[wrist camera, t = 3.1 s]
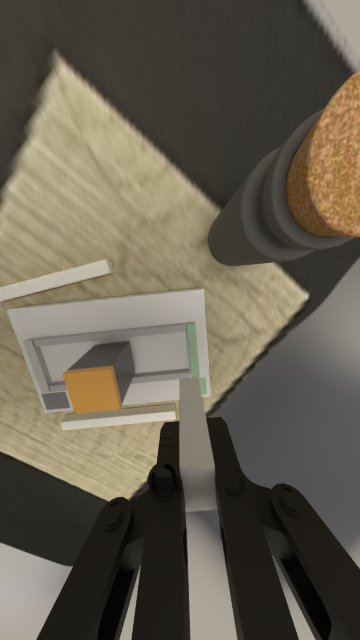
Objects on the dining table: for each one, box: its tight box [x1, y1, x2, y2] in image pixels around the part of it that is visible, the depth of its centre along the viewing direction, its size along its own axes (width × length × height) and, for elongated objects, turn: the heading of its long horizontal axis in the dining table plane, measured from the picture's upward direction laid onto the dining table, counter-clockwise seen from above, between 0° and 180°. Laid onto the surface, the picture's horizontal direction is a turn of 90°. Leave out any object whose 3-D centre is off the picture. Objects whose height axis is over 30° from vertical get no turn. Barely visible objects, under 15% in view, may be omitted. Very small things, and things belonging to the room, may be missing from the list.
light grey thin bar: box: [0, 259, 115, 302], centre depth 20 cm, size 14×1×1 cm, turn 104°
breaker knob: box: [62, 341, 135, 414], centre depth 18 cm, size 4×4×6 cm
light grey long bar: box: [60, 404, 176, 430], centre depth 25 cm, size 16×1×1 cm, turn 96°
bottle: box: [208, 70, 360, 266], centre depth 13 cm, size 6×6×15 cm
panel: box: [6, 288, 211, 413], centre depth 22 cm, size 22×14×3 cm, turn 96°
